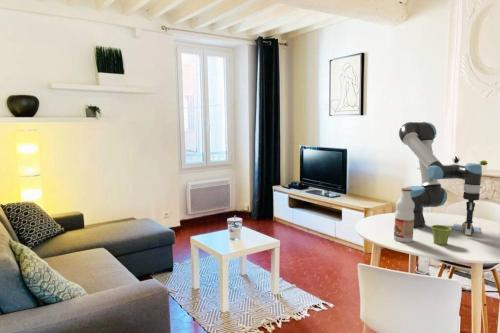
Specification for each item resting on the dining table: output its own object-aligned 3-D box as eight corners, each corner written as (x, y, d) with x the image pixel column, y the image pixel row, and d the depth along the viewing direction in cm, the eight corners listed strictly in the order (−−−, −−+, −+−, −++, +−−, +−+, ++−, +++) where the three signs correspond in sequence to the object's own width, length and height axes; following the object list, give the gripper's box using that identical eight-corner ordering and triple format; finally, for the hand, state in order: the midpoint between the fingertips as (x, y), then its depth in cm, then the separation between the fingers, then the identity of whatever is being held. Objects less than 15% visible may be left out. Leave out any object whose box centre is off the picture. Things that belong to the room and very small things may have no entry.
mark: (481, 233, 212) (481, 233, 212) (453, 229, 219) (453, 229, 219) (479, 227, 224) (479, 227, 224) (453, 223, 231) (453, 223, 231)
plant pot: (441, 247, 188) (442, 230, 187) (426, 241, 196) (427, 225, 195) (454, 245, 191) (455, 228, 190) (438, 239, 200) (440, 224, 199)
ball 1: (466, 224, 213) (466, 218, 217) (459, 229, 216) (459, 223, 220) (475, 229, 212) (474, 223, 216) (468, 234, 215) (468, 228, 219)
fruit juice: (412, 243, 193) (416, 190, 189) (393, 241, 196) (396, 189, 193) (412, 238, 201) (416, 187, 198) (394, 236, 205) (397, 186, 201)
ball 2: (467, 221, 210) (466, 229, 213) (461, 226, 208) (460, 233, 211) (477, 227, 205) (475, 234, 208) (470, 231, 204) (469, 238, 207)
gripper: (480, 194, 193) (476, 238, 196) (479, 190, 204) (475, 232, 208) (463, 193, 197) (460, 236, 200) (463, 189, 208) (460, 230, 211)
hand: (467, 234), depth 204 cm, fingers closed
